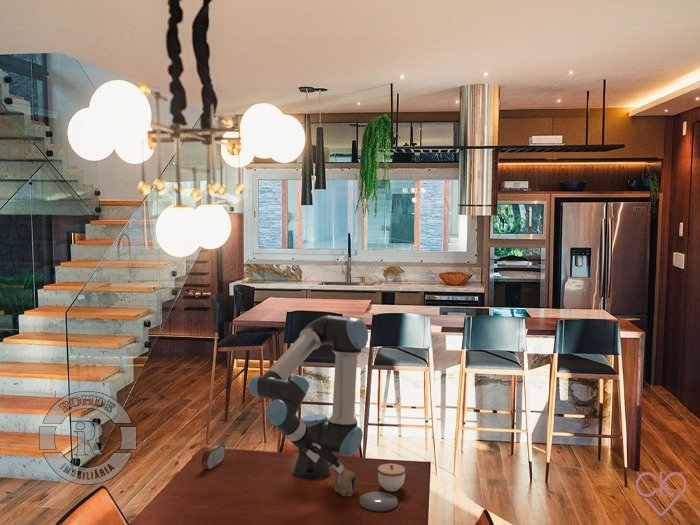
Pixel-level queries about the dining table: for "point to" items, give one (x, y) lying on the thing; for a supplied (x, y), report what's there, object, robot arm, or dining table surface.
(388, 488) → the lidded jar
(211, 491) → the dining table surface
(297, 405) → the robot arm
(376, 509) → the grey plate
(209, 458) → the tin
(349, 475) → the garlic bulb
